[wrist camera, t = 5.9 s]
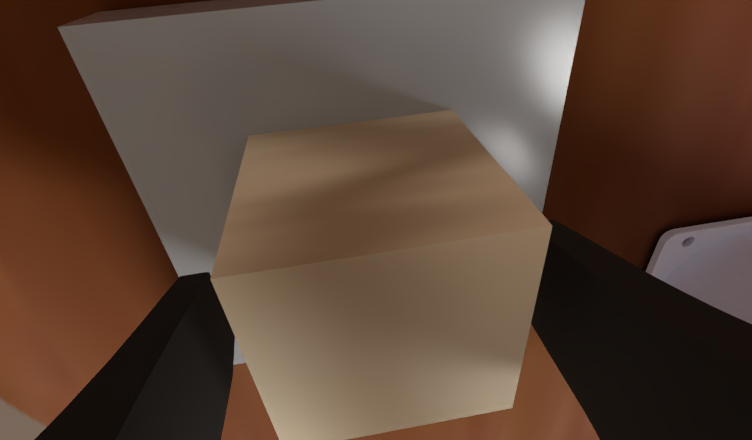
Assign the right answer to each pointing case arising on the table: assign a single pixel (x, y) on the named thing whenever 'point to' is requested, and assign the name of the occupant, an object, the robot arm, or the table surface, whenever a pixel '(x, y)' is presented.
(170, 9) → the plate
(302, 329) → the maple cube
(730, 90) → the table surface
